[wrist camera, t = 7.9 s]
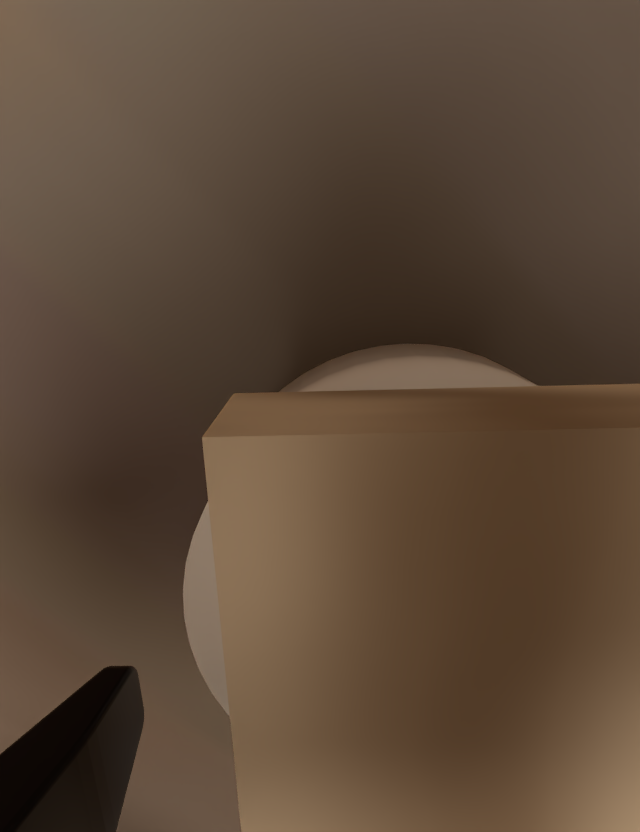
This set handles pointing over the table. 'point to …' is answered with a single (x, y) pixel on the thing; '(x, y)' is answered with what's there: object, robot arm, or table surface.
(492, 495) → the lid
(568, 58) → the table surface
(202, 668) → the bowl
